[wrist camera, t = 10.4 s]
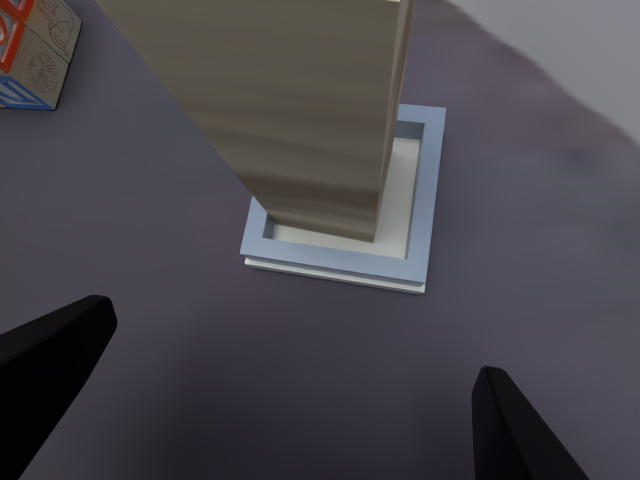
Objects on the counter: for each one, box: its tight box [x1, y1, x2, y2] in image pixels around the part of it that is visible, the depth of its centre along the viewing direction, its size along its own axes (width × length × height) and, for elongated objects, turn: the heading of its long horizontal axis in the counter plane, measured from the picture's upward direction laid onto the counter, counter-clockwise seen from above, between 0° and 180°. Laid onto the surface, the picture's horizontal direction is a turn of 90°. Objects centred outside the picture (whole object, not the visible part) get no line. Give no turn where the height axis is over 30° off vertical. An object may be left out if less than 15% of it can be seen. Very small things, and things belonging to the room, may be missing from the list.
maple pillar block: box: [95, 0, 416, 243], centre depth 11 cm, size 4×4×14 cm
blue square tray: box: [240, 104, 446, 295], centre depth 18 cm, size 8×8×2 cm
